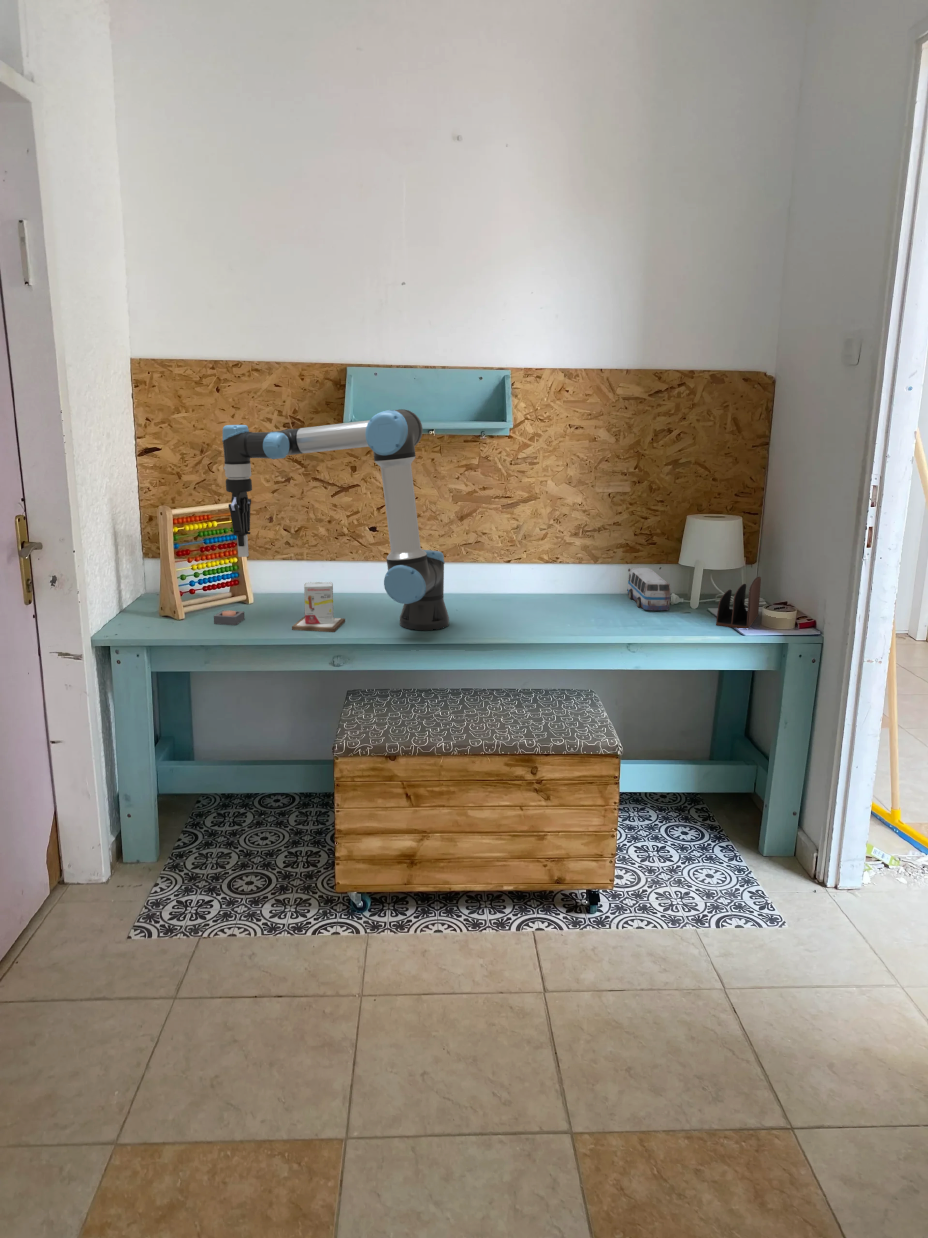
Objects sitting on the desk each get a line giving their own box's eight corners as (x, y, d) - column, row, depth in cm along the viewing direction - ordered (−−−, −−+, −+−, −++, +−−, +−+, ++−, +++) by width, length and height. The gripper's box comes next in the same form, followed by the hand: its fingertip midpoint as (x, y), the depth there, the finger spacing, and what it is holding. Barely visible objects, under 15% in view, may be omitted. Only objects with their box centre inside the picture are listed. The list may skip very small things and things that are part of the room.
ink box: (305, 624, 273) (303, 585, 270) (304, 620, 278) (303, 582, 275) (333, 623, 275) (333, 585, 271) (333, 619, 279) (332, 581, 276)
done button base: (244, 619, 282) (244, 611, 281) (236, 625, 275) (235, 617, 275) (223, 618, 283) (222, 610, 282) (213, 623, 276) (213, 615, 276)
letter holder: (758, 616, 297) (762, 573, 294) (748, 630, 280) (752, 585, 276) (727, 612, 301) (731, 570, 298) (715, 626, 284) (719, 581, 281)
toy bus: (651, 593, 325) (653, 566, 323) (672, 613, 299) (674, 583, 297) (624, 593, 325) (625, 566, 322) (642, 613, 299) (644, 583, 296)
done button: (238, 618, 281) (237, 610, 280) (233, 621, 277) (232, 614, 276) (225, 617, 281) (225, 610, 281) (220, 621, 277) (220, 613, 277)
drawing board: (345, 621, 281) (345, 617, 281) (334, 632, 270) (334, 628, 270) (304, 619, 283) (304, 615, 283) (291, 629, 272) (291, 625, 271)
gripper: (234, 475, 277) (239, 552, 283) (217, 480, 265) (223, 560, 271) (258, 475, 276) (262, 552, 282) (242, 480, 264) (248, 560, 270)
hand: (243, 556), depth 276 cm, fingers closed
